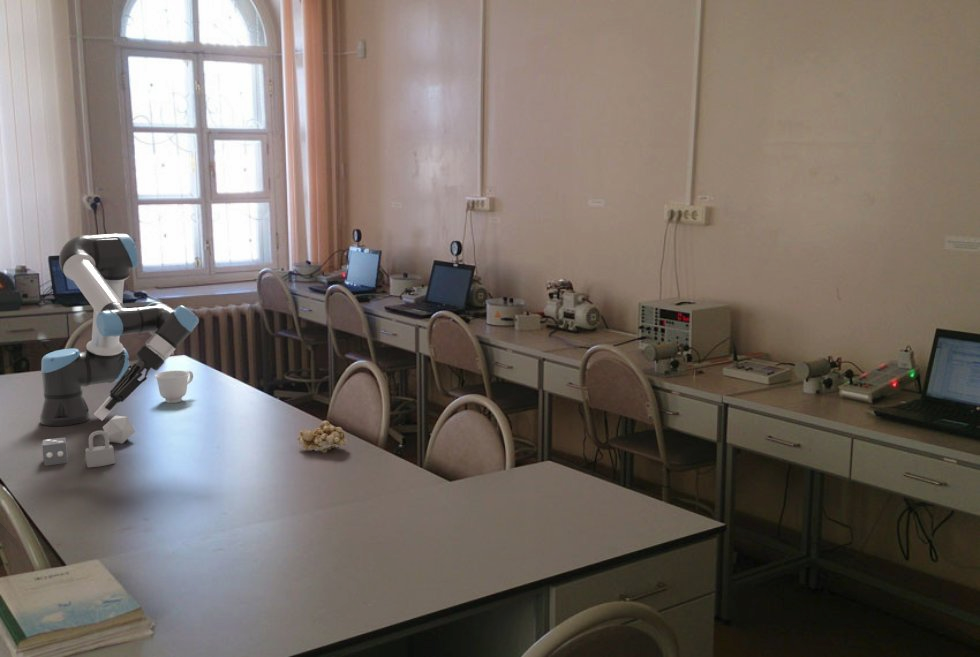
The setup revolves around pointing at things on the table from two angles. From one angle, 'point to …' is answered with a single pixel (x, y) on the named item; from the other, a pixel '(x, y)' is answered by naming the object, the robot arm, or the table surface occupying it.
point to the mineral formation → (322, 438)
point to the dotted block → (54, 451)
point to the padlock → (99, 452)
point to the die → (118, 429)
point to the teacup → (173, 384)
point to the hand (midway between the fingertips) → (97, 417)
